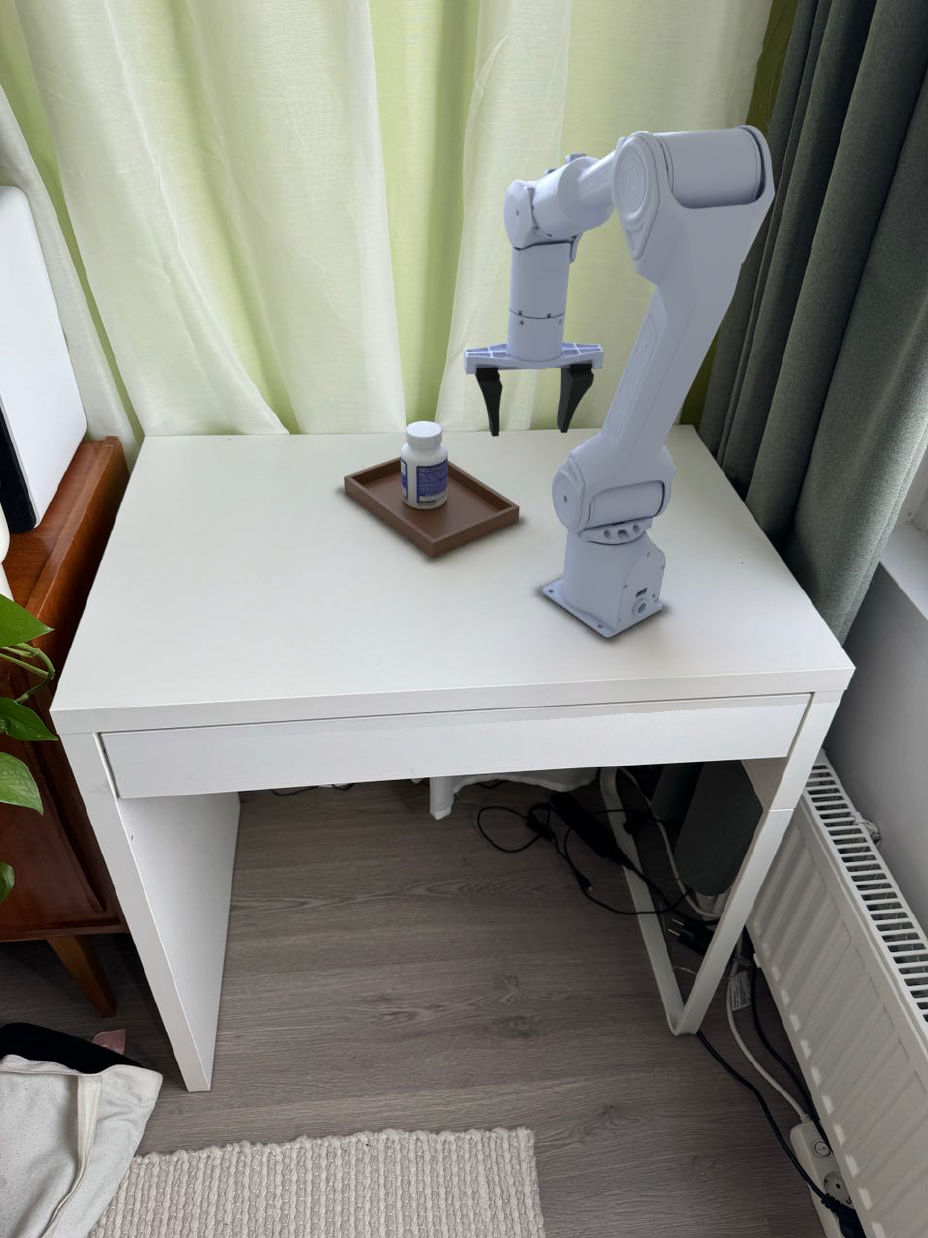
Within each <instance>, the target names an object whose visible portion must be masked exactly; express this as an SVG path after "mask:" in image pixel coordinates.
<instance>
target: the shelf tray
mask: <svg viewBox="0 0 928 1238" xmlns="http://www.w3.org/2000/svg"><path fill="white" fill-rule="evenodd" d="M343 480H344V492H345V493H347V494H348V495H349V496H350V497H352V498H353V499H354V500H356V501H357V502H358V503H359V504H360V505H362V506H363V507H365V508H366V509H367V510H369V511H370V512H371V513H372V514H374V515H375V516H376V517H378V518H379V519H380V520H382V521H383V522H384V523H385V524H387V525H389V527H391V528H392V529H394V530H395V531H396V532H397V533H399V534H400V535H401V536H403V537H404V538H405V539H406V540H408V541H409V542H411V543H412V544H413V545H414V546H416V548H417V547H418V549H420V551H422V552H424V553H425V554H426V555H427V556H429V557H430V558H432V559H436V558H437V557H440V556H442V555H444V554H447V553H449V552H451V551H454V550H456V549H458V548H460V547H464V546H465V545H467V544H471V543H472V542H474V541H477V540H479V539H481V538H485V537H486V536H488V535H491V534H493V533H496V532H498V531H500V530H502V529H505V528H507V527H509V526H511V525H514V524H516V523H519V522H520V521H519V520H520V509H521V508H520V506H519V505H518V504H516V503H515V502H513V501H512V500H510V499H509V498H507V497H505V496H504V495H502V494H501V493H499V492H498V491H496V490H495V489H493V488H492V487H490V486H488V485H487V484H485V483H484V482H482V480H480V479H478V478H476V477H474V476H473V475H472V474H470V473H469V472H468V471H465V470H464V469H462V468H461V467H459V466H457V465H456V464H455V463H453V462H451V461H450V460H448V480H447V500H446V501H445V503H444V504H442V505H441V506H439V507H436V508H433V509H416V508H413V507H410V506H409V505H407V504H406V503H405V502H404V501H403V499H402V481H401V456H398V457H396V458H392V459H390V460H387V461H384V462H382V463H378V464H376V465H373V466H370V467H367V468H365V469H362V470H359V471H356V472H353V473H350V474H348V475H345V476H343Z"/></svg>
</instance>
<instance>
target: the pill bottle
mask: <svg viewBox="0 0 928 1238" xmlns="http://www.w3.org/2000/svg"><path fill="white" fill-rule="evenodd" d="M405 442H406V443H404V444H403V446H402V447H401V449H400V457H401V481H402V499H403V501H404V502H405V503H406V504H407V505H409V506H410V507H413V508H416V509H433V508H436V507H439V506H441V505H442V504H444V503H445V501H446V500H447V480H448V461H449V458H448V456H449V454H448V448H447V446H446V445H445V444H444V443H443V428H442V426H440V424H438V423H436V422H434V421H429V420H419V421H415V422H412V423H409V424H408V425H407V426H406V427H405Z"/></svg>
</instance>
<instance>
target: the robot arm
mask: <svg viewBox="0 0 928 1238" xmlns="http://www.w3.org/2000/svg"><path fill="white" fill-rule="evenodd" d="M564 163H565V164H564V165H563V166H561V167H555V168H548V169H546V170H545V171H544V172H543V176H542V177H541V178H539V179H538V180H528V181H527V180H526V181H524V180H521V179H514V180H513V181H512V182H511V184H510V185H509V186H508V188H507V190H506V192H505V195H504V201H503V224H504V230H505V233H506V237H507V240H508V242H509V243H510V245H511V249H512V250H511V263H510V264H511V265H510V280H509V281H510V282H509V283H510V284H509V299H508V300H509V301H508V303H509V304H508V319H507V321H508V322H507V339H506V341H507V342H503V343H497V344H492V345H487V346H483V347H476V348H465V349H463V369H464V373H465V374H466V375H474V376H475V379H476V382H477V384H478V386H479V389H480V391H481V393H482V397H483V401H484V403H485V407H486V411H487V419H488V430H489V431H490V434H491V437H499V436H500V409H501V408H500V407H501V399H502V392H503V387H504V386H503V384H502V381H501V374H500V373H499V371H512V370H513V371H515V370H548V369H560V389H559V401H558V408H557V414H556V415H557V416H556V417H557V418H556V425H557V427H558V429H559V431H560V434H567V433H568V431H569V429H570V425H571V422H572V420H573V416H574V414H575V412H576V410H577V408H578V406H579V404H580V402H581V400H582V399H583V397H585V394H586V393H587V392H588V391H589V389H590V388H591V387H592V385H593V383H594V379H595V374H594V372H593V371H592V370H601V369H603V363H604V355H605V351H604V350H603V348H602V346H601V345H600V344H599V343H598V344H597V343H595V344H594V343H593V344H591V343H578V342H577V343H576V342H569V341H563V340H564V331H565V329H564V328H565V320H566V309H567V299H568V298H567V297H568V288H569V277H570V266H571V264H573V263H574V262H575V261H576V260H575V259H577V251H578V245H579V242H580V241H581V239H582V237H583V235H584V233H585V232H588V231H590V230H593V229H595V228H598V227H600V226H602V225H603V224H605V223H606V222H607V221H608V220H609V219H610V218H611V217H612V215H613V213H614V211H615V210H616V212H617V214H618V215H617V216H618V218H619V221H620V225H621V228H622V231H623V234H624V238H625V241H626V244H627V248H628V251H629V254H630V256H631V260H632V264H633V267H634V270H635V273H636V274H637V275H639V276H641V277H642V278H644V279H646V280H647V281H650V282H651V283H653V285H654V284H655V289H654V292H653V294H652V296H651V299H650V301H649V305H648V308H647V309H646V312H645V315H644V318H643V319H642V320H643V321H642V323H641V325H640V328H639V331H638V333H637V335H636V338H635V341H634V343H633V346H632V349H631V350H630V351H631V352H630V353H629V357H628V359H627V362H626V364H625V367H624V370H623V372H622V375H621V378H620V380H619V383H618V386H617V388H616V391H615V393H614V396H613V399H612V401H611V403H610V406H609V408H608V412H607V414H606V417H605V420H604V422H603V425H602V427H601V430H600V432H598V433H597V434H594V435H593V436H592V437H590V438H589V439H587V440H585V441H584V442H581V444H579V445H577V446H576V447H574V448H573V449H571V450H570V452H569V454H568V457H567V460H566V461H565V463H563V464H562V465H560V466H559V467H558V469H557V471H556V473H555V475H554V477H553V480H552V487H551V494H552V495H551V496H552V502H553V503H552V504H553V508H554V511H555V513H556V516H557V518H558V520H559V522H560V523H561V524H562V525H563V526H564V528H566V530H567V534H566V541H565V542H566V543H565V551H564V561H563V570H562V578H559V579H557V580H556V581H554V582H552V583H549V584H547V585H545V586H543V587H542V593H543V594H544V595H545V596H547V597H548V598H549V599H550V600H552V601H553V602H555V603H556V604H558V605H560V607H562V608H563V609H565V610H567V611H568V612H569V613H571V614H572V615H573V616H575V617H576V618H578V619H579V620H580V621H582V622H583V623H585V624H586V625H587V626H588V627H590V628H591V629H593V630H594V631H595V632H597V633H599V634H600V635H602V636H603V637H604V638H608V639H609V638H612V637H614V636H615V635H617V634H619V633H621V632H623V631H624V630H627V629H628V628H630V627H632V626H633V625H635V624H637V623H639V622H641V621H643V620H645V619H646V618H648V617H650V616H652V615H653V614H656V613H658V612H659V611H661V610H662V608H663V604H662V603H661V602H659V600H660V594H661V591H662V590H661V589H662V585H663V580H664V574H665V568H666V564H667V563H666V562H667V561H666V555H665V553H664V551H663V550H662V549H661V548H659V547H658V545H656V544H655V543H654V541H652V539H651V538H650V535H648V532H647V530H650V529H652V527H653V521H654V518H657V517H661V516H662V515H663V514H664V513H665V511H666V510H667V508H668V506H669V503H670V500H671V496H672V484H673V481H674V478H675V476H676V475H677V467H676V463H675V461H674V458H673V456H672V453H671V452H670V450H669V448H668V446H667V445H666V444H665V442H666V440H667V438H668V436H669V434H670V431H671V429H672V427H673V425H674V423H675V421H676V419H677V417H678V415H679V412H680V411H681V408H682V406H683V405H684V402H685V401H686V398H687V395H688V394H689V391H690V389H691V387H692V386H693V383H694V381H695V379H696V377H697V375H698V372H699V370H700V368H701V366H702V364H703V362H704V360H705V358H706V355H707V353H708V351H709V349H710V347H711V345H712V343H713V341H714V338H715V336H716V334H717V332H718V329H719V328H720V326H721V323H722V322H723V320H724V318H725V315H726V314H727V311H728V309H729V306H730V305H731V302H732V300H733V297H734V295H735V292H736V288H737V284H738V280H739V276H740V273H741V268H742V264H743V263H744V262H746V258H747V256H748V254H749V252H750V250H751V248H752V246H753V243H754V241H755V239H756V238H757V235H758V233H759V230H760V229H761V227H762V224H763V222H764V220H765V218H766V216H767V213H768V211H769V210H770V208H771V205H772V203H773V201H774V198H775V196H776V190H775V184H774V175H773V165H772V156H771V151H770V148H769V145H768V142H767V139H766V138H765V136H764V135H763V133H762V132H761V130H760V129H758V128H757V127H755V126H753V125H749V124H748V125H747V124H743V125H739V126H736V127H733V128H721V129H703V130H687V131H686V130H685V131H670V132H669V131H668V132H650V131H646V130H639V131H635V132H633V133H631V134H630V135H629V136H621V137H619V138H618V140H617V143H616V146H615V150H612V151H611V152H610V153H609V154H607V155H606V156H604V157H603V158H601V159H598V158H596V157H592V156H588V154H587V153H586V152H571V153H569V154H568V155H566V156H565V157H564Z"/></svg>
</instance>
